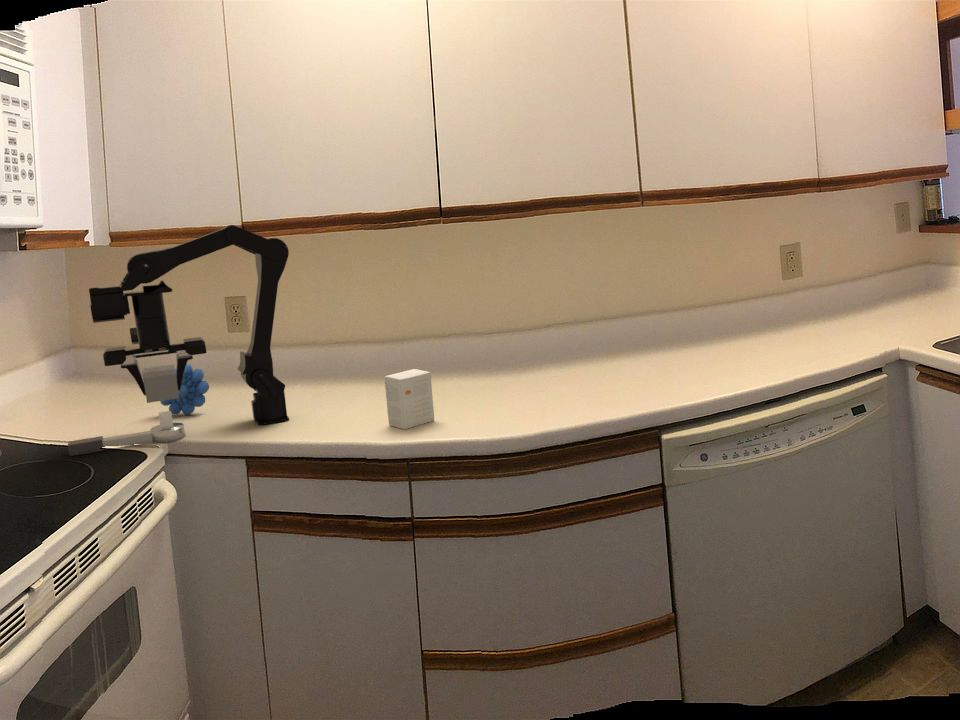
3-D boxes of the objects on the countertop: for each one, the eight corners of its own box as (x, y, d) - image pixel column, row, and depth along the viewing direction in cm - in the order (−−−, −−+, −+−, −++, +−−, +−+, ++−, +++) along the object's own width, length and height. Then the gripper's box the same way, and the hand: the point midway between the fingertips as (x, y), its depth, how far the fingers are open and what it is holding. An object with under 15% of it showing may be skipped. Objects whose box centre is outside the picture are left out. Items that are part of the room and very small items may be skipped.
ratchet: (184, 432, 156) (180, 407, 155) (186, 439, 150) (182, 413, 149) (71, 450, 147) (67, 424, 146) (68, 459, 142) (63, 432, 141)
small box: (418, 416, 156) (414, 368, 154) (435, 421, 152) (431, 371, 150) (387, 425, 151) (383, 375, 149) (404, 430, 147) (399, 379, 145)
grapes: (219, 408, 174) (212, 359, 171) (208, 416, 167) (201, 365, 165) (170, 411, 174) (163, 361, 172) (158, 419, 168) (150, 367, 165)
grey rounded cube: (178, 392, 154) (173, 364, 153) (179, 398, 148) (175, 369, 147) (146, 396, 151) (142, 368, 150) (147, 402, 146) (142, 373, 145)
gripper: (197, 307, 157) (207, 378, 161) (100, 318, 150) (113, 392, 153) (201, 312, 147) (211, 388, 151) (97, 324, 140) (111, 403, 143)
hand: (162, 392), depth 150 cm, fingers closed on grey rounded cube, 6 cm apart
